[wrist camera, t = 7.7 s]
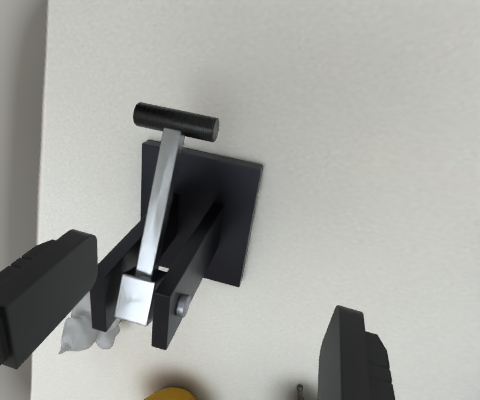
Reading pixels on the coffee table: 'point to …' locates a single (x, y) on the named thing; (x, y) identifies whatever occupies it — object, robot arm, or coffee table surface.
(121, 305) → the t-handle lever
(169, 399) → the apple
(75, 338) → the grey swirled lump
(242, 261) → the lever base
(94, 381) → the coffee table surface
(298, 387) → the alarm clock
